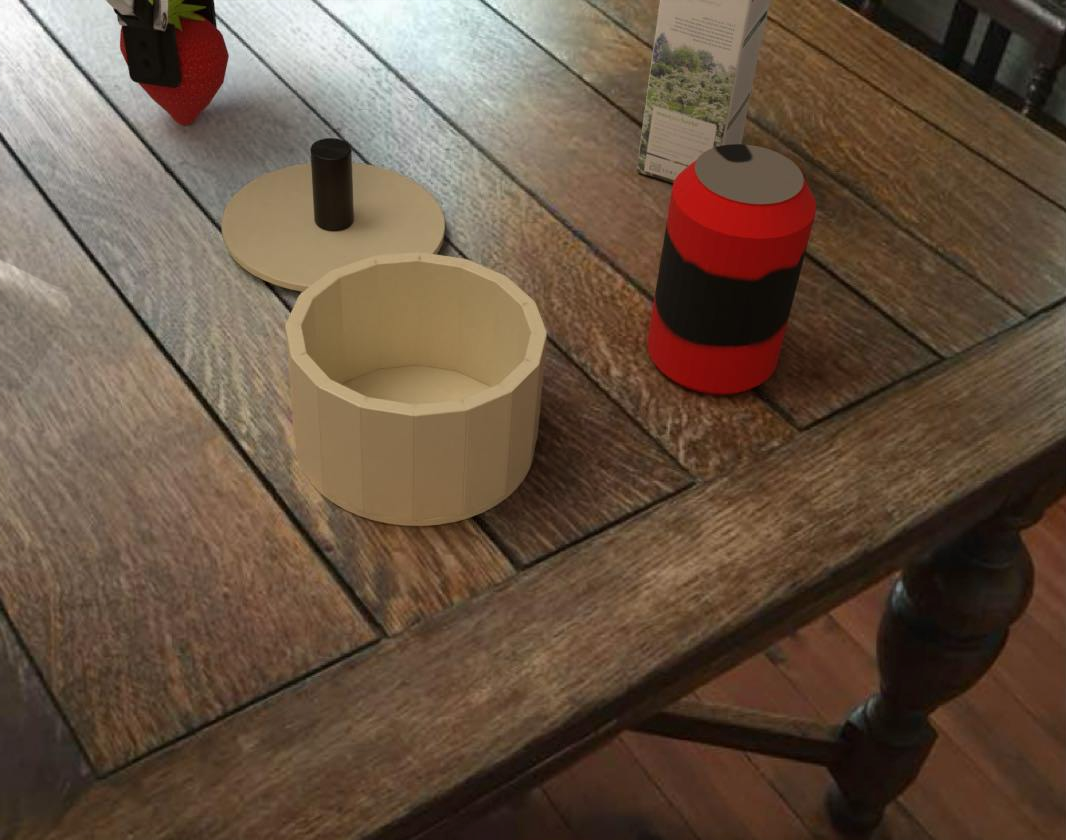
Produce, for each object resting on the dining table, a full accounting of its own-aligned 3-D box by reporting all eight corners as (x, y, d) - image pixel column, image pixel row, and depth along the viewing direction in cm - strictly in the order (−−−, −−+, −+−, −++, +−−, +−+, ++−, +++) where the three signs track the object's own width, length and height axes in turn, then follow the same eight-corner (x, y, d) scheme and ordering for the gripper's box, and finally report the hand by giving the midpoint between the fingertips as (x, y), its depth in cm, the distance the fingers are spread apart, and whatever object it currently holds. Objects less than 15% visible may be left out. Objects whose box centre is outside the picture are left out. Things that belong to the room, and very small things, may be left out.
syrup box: (740, 158, 94) (783, -52, 83) (712, 200, 90) (753, -15, 79) (663, 135, 95) (696, -74, 85) (632, 175, 91) (662, -39, 81)
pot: (266, 504, 68) (253, 390, 63) (331, 349, 77) (325, 237, 71) (513, 544, 67) (522, 433, 62) (551, 383, 76) (562, 273, 71)
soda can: (744, 307, 82) (784, 128, 73) (797, 387, 77) (847, 205, 69) (627, 324, 80) (654, 142, 72) (674, 407, 75) (709, 222, 67)
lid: (192, 283, 80) (179, 193, 76) (260, 162, 89) (252, 76, 85) (418, 318, 79) (419, 229, 75) (463, 192, 89) (466, 107, 84)
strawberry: (197, 162, 89) (179, 14, 82) (110, 124, 91) (85, -22, 84) (256, 124, 93) (243, -20, 85) (170, 89, 95) (151, -54, 88)
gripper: (145, -185, 69) (187, 133, 82) (248, -287, 81) (270, 6, 94) (3, -205, 70) (67, 115, 83) (126, -302, 81) (165, -9, 95)
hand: (174, 54), depth 88 cm, fingers closed on strawberry, 6 cm apart
